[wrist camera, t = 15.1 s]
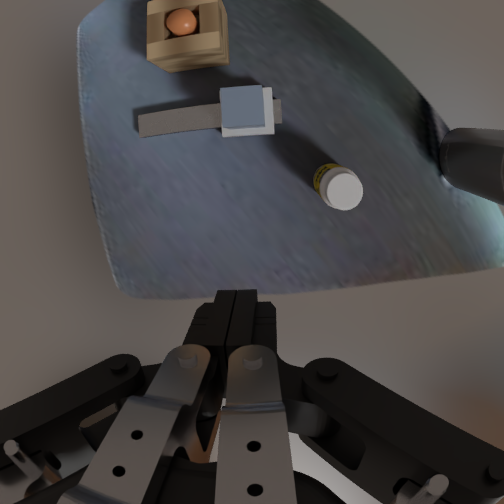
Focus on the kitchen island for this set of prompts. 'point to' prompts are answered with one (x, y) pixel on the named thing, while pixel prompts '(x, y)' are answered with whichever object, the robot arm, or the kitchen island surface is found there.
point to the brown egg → (183, 23)
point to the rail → (189, 119)
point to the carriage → (246, 111)
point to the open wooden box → (188, 47)
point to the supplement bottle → (338, 186)
